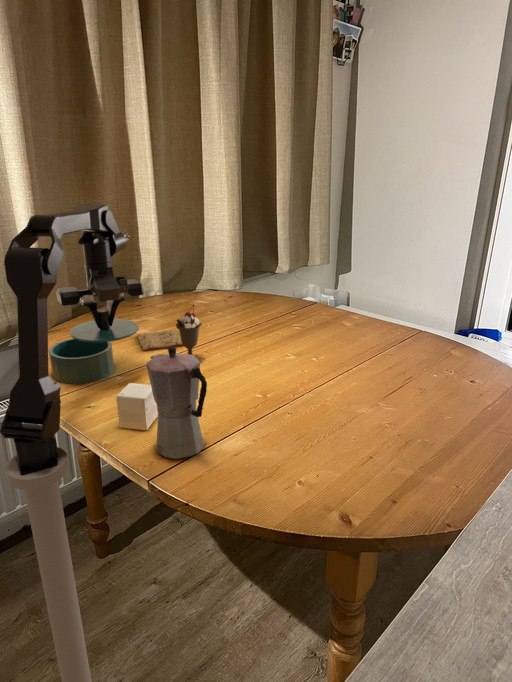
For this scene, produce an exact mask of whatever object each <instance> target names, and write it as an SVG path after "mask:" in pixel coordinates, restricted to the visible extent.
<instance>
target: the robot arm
mask: <svg viewBox="0 0 512 682" xmlns="http://www.w3.org/2000/svg"><path fill="white" fill-rule="evenodd" d="M115 219H116V218H115V217H114V214H113V213H112V211H111V210H109V207H108V206H107V205H106V204H87V203H86V204H84V203H83V204H82V203H79V204H77V205H75V206H73V207H72V208H71V210H70V211H66V212H65V211H64V212H56V213H49V214H35V215H32V216H30V218H29V219H28V221H27V224H26V226H25V227H24V228H23V229H22V230H21V231H20V232H19V233H18V234H16V235H15V236H14V238H12V239H11V241H10V244H9V247H8V249H7V251H6V252H5V255H4V259H3V265H4V266H3V267H4V273H5V281H6V283H7V285H8V287H9V288H10V290H11V291H12V293H13V294H14V296H15V297H16V311H17V312H16V313H17V345H18V347H17V348H18V350H17V351H18V352H17V353H18V378H17V379H16V381H15V382H14V384H13V387H12V388H11V389H10V391H9V398H8V405H7V408H6V410H5V414H4V418H3V420H2V423H1V426H0V435H1V436H2V438H3V439H5V440H6V439H10V440H11V439H12V440H13V443H14V448H15V454H16V455H17V457H16V459H17V463H18V467H19V471H20V475H21V476H23V475H27V474H30V473H34V472H37V471H41V470H44V469H48V468H51V467H55V466H57V465H58V462H57V459H56V458H58V449H57V447H58V443H57V439H56V436H55V435H57V433H58V432H59V431H60V429H61V410H62V409H61V408H62V407H61V404H62V401H61V386H60V382H59V381H53V380H52V378H51V376H50V374H49V323H48V321H49V320H48V315H49V314H48V298H49V296H50V294H51V293H52V291H53V289H54V288H55V286H56V285H57V283H58V282H57V281H58V271H59V269H60V266H61V263H62V260H63V258H64V254H65V252H64V248H63V245H62V242H61V240H62V237H63V235H67V234H73V233H77V232H82V236H81V237H80V238H79V239H78V242H77V244H78V245H82V253H83V259H84V260H83V261H84V266H83V267H84V270H85V275H86V277H85V278H86V287H87V288H85V289H78V288H76V287H75V286H66V287H58V288H57V290H56V292H55V294H56V300H57V301H58V303H59V304H60V305H61V306H63V307H67V306H73V305H78V303H80V304H81V305H82V306H83V307H86V308H87V310H88V311H89V313H90V316H91V317H92V320H94V321H95V323H96V325H97V327H98V328H100V320H99V316H98V302H96V300H95V297H96V298H97V300H98V301H99V302H101V303H106V306H107V307H106V309H107V310H108V312H109V322H110V326H112V324H113V320H114V318H115V316H116V314H117V313H116V312H117V310H118V307H119V305H120V304H121V303H122V302H125V301H126V297H125V296H124V293H127V294H128V295H129V296H131V297H137V296H138V297H139V296H143V295H145V290H144V285H143V283H141V281H138V280H137V279H135V278H131V279H128V278H127V276H126V275H121V276H119V275H118V276H115V273H114V269H113V266H112V259H111V257H114V256H116V255H118V254H120V253H122V252H124V251H125V249H126V248H127V245H128V244H127V243H128V242H127V238H126V236H125V234H124V233H123V232H121V231H120V228H119V226H118V224H117V221H116V220H115ZM40 238H50V239H51V244H50V246H49V248H48V247H34V246H33V245H34V244H35V243H36V242H37V241H39V239H40ZM32 246H33V247H32Z"/></svg>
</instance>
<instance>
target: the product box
mask: <svg viewBox="0 0 512 682" xmlns="http://www.w3.org/2000/svg"><path fill="white" fill-rule="evenodd" d="M116 406H117V416H118V426H119V428H121V429H131V430H140V431H148V430H149V429H150V427H151V425H152V424H153V423H154V422H155V421H156V419H158V411H157V404H156V402H155V400H154V396H153V392H152V388H151V384H148V383H147V384H146V383H135V382H134V383H133V382H128V384H127V385H125V387H123V388H122V389H121V390H120V391H119V392H118V394H117V395H116Z"/></svg>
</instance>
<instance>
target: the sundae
mask: <svg viewBox="0 0 512 682" xmlns="http://www.w3.org/2000/svg"><path fill="white" fill-rule="evenodd" d="M195 306H196V304H192V305H191V308H190V309H189V310H187V311H186V312H185V313H184V314H183V315H182V316H181V317H180V319H179V318H178V319H176V324H175V327H176V329H177V330H178V331H179V336H180V337H181V341H182V345H181V346H183V347H184V348H186V349H187V354H188V355H194V354H193V349H194V348H195V347H196V346H197V344H198V340H199V333H200V332H199V331H200V327H202V323H201V322H200V320H199V318H198V317H196V316H197V315H196V313H195V310H194V309H195ZM191 311H192V312H191ZM194 356H195V355H194ZM195 357H196V358H197V359H198V360H199V362H201V361H200V360H201V359H200V357H198V356H195Z"/></svg>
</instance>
